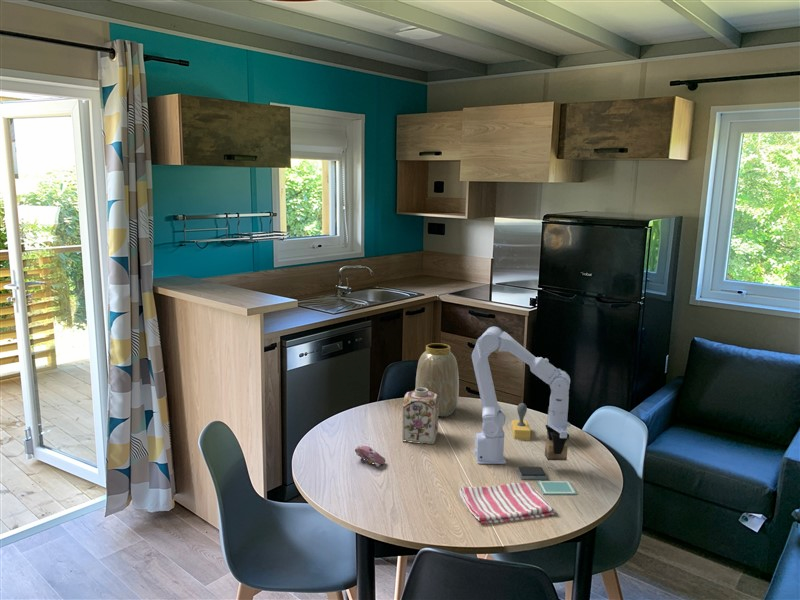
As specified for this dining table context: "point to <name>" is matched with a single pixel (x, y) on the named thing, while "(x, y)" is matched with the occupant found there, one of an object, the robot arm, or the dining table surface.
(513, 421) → the rubber stamp
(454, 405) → the vase
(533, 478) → the ink pad
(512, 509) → the dish towel
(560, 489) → the marked card
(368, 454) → the pink rounded piece
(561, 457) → the hand stamp
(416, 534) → the dining table surface
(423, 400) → the decorative jar
